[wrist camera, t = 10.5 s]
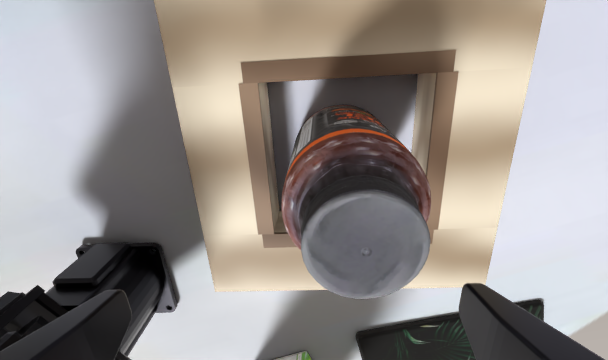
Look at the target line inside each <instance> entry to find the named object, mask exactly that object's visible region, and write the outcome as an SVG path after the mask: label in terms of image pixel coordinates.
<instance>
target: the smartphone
mask: <svg viewBox="0 0 608 360" xmlns="http://www.w3.org/2000/svg"><path fill="white" fill-rule="evenodd" d="M516 305H518V306H519V307H521V308H523V309H524V310H526V311H527V312H529V313H531V314H532V315H534V316H536V317H537V318H539V319H540V320H542V321H544V305H543V303H542V302H541V301H540V300H533V301H527V302H521V303H516ZM356 340H357V343H358V347H359V350H360V353H361V357H362V360H476V358H475V355H474V353H473V350H472V347H471V345H470V342H469V339H468V337H467V334H466V332H465V329H464V326H463V324H462V321H461V318H460V315H459V314H454V315H448V316H442V317H437V318H431V319H426V320H420V321H415V322H409V323H404V324H398V325H393V326H387V327H382V328H376V329H372V330H366V331H361V332H358V333H357V334H356Z"/></svg>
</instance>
